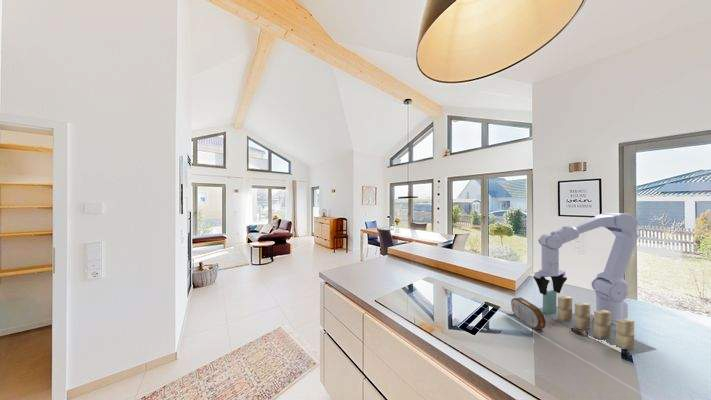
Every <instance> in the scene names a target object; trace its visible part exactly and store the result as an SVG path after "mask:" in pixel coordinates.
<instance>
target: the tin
mask: <svg viewBox="0 0 711 400" xmlns="http://www.w3.org/2000/svg"><path fill="white" fill-rule="evenodd" d="M510 303H511V305H510V306H511V310H512V313H513V314H514V316H515V317H516V318H518V319H520V320H521V321H522V322H524V323H525V324H527V325H528V326H530V328H532V329H534V330H544V329H545V327H546V324H547V322H546V318H545V317H546V316H544V315H543V313H542V312H541V310H540V309H539V308H540V307H538V306H536V305H535V304H533V303H531V302H529V301H528V300H526V299H524V298H523V297H520V296H519V297H514V298H512V299H511V301H510Z"/></svg>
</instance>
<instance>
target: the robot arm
mask: <svg viewBox="0 0 711 400" xmlns="http://www.w3.org/2000/svg"><path fill="white" fill-rule="evenodd" d="M638 225H639V220H638V219H636V217H634V216H633V215H632V214H630V213H620V212H619V213H618V212H617V213H616V212H610V211H609V212H608V211H605V212H602V213H601V214H600V213H599V214H597V215H595V216H594V217H591V218H590V219H587V220H586V221H583V222H580V223H579V224H577V225H574V226H570V225H564V226H561V228H559V229H557V230H555V231H554V230H552V231H550V232H549V233H543V234H541V235H540V237H539V239H538V240H537V241H538V243H539V245H540V247H541V269H539V271H535V272H534V275H533V279H534V281H535V283H536V285H537V287H538V291H539V294H541V295H542V296H543V295H546V293H547V291H548V286H549V283H550V281H551V282H552V290H553V291H555V292H556V294H561V291H562V288H563V286H564V284H565V283H566V281H567V280H568V277H567V276H566V271H565V270H561V269H560V267H559V266H560V265H559V261H560V254H559V253H560V251H559V250H560V249H561V247H562V246H563V245H564V244H566V243H569V242H572V241H574V240H576V239H579V237H580V235H581V234H584V233H586V232H589V231H592V230H594V229H598V228H601V227H602V228H603V227H604V228H605V229H607V230H608V231H610V232H611V233H612V234H613V235H614V236H615V238H614V241H613V244H612V247H611V250H610V253H609V256H608V258H607V261H606V264H605V267H604V269H603V271H602V272H600V273H597V275H596V277H595V278H594V279H593V280H592V281H591V284H590V285H591V288H592V289H593V291H595V311H599V310H606V311H609V312H611V325H612V324H613V325H616V320H619V319H625V318H628V313H629V312H628V311H629V310H628V309H629V308H628V307H629V305H628V302H627V301H626V299H627V298H628V296H629V292H628V287H629V284H628V283H627V281H626V280H625V278H624V276H625V273H626V271H627V268H628V265H629V264H630V263H629V262H630V260H631V257H632V254H633V251H634V248H635V245H636V243H637V241H638V236H639V234H638V229H637V228H638ZM549 277H550V278H551V280H550V279H546V278H549ZM590 316H593V317H594V312H592V313H591V312H590ZM628 319H629V318H628Z"/></svg>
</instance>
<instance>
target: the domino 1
mask: <svg viewBox="0 0 711 400" xmlns="http://www.w3.org/2000/svg"><path fill="white" fill-rule="evenodd" d="M556 306H557V292H555V291H554V290H553V289H552V290H547V293H546V295H543V294H542V308H543V312H544V313H546V314H549V313H556Z"/></svg>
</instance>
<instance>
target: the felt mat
mask: <svg viewBox="0 0 711 400" xmlns="http://www.w3.org/2000/svg"><path fill="white" fill-rule="evenodd" d="M538 308H539V309H540V310H541V312H542V313H543V315H544V317H547V318H548V319H551V320H553V321H554V322H557V323H558V324H561V325H563V326H565V327H567V328H569V327H570V328H569V329H571V328H576V327H575V312H574V313H573V312H572V320H567V321H561V320H559V319H558V305H556V313H549V314H546V313H544V312H543V307H538ZM582 330H584V331H587V332H588V335H589V336H591V337H593V338H595V339H598V340H604V341H605V340H606V342H607V343H609V344H610V345H616V330H614V329H611V334H610V337H609V338H603V339H599V338H597V337H595V336H594V321H592V320H590V328H587V329H582ZM601 342H602V341H601ZM597 343H599V341H598V342H597ZM657 350H658V349H657V348H656V347H653V346H650V345H648V344H646V343H643V342H641V341H638V340H636V339H634V348H632V349H628V352H629V353H630V355H629V356H631V355H632V356H633V355H636V354H637V355H638V354H642V353H647V352H652V351H657Z"/></svg>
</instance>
